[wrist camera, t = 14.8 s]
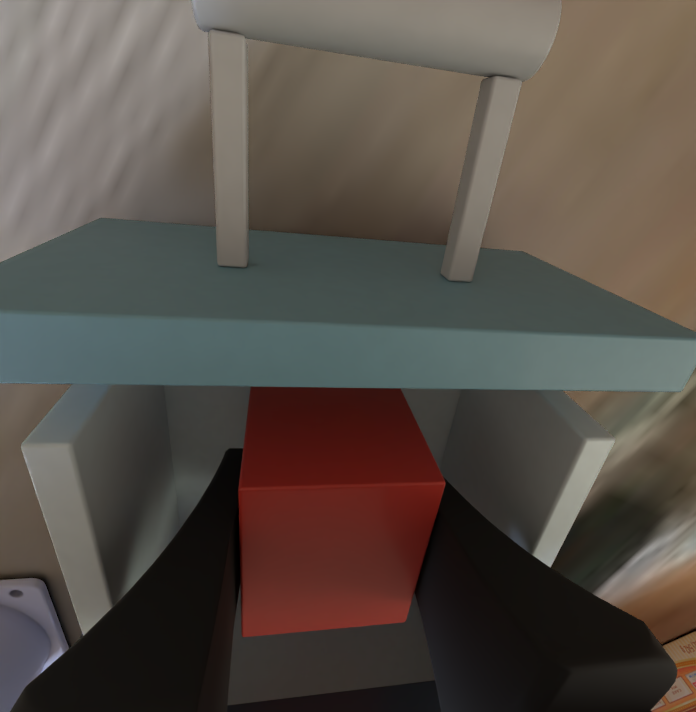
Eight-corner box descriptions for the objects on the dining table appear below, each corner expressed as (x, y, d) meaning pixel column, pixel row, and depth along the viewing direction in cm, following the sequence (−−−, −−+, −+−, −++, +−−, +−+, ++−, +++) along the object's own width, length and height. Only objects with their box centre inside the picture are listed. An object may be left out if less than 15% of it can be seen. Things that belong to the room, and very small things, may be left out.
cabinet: (138, 491, 17) (26, 769, 10) (454, 481, 20) (563, 696, 12) (171, 684, 24) (122, 930, 17) (400, 659, 27) (448, 864, 19)
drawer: (57, -38, 9) (-397, -395, 3) (582, 56, 11) (926, -37, 5) (156, 561, 18) (94, 772, 12) (434, 544, 20) (499, 715, 14)
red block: (252, 499, 14) (241, 638, 10) (252, 372, 12) (237, 489, 8) (373, 495, 15) (406, 623, 11) (395, 375, 13) (447, 482, 9)
